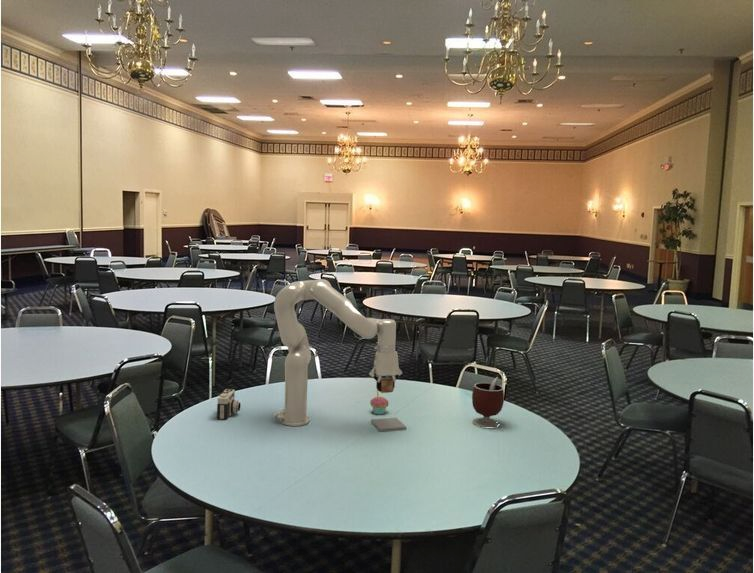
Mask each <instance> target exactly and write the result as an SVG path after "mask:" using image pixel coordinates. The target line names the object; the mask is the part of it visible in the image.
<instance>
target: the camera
mask: <svg viewBox="0 0 754 573" xmlns="http://www.w3.org/2000/svg"><path fill="white" fill-rule="evenodd" d="M235 392H236V390H235V389H232V388H226V389H225V390H223V392H222V393H220V394H219V396H218V397H217V404H216V409H217V410H216V413H217V414H216V420H218V421H228V420H229V418H230V417H231V415H233V414H235V413H236V414H237V413H238V412H240V411H241V407H242V406H241V402H239V400H236V399H235V396H236V395H235Z"/></svg>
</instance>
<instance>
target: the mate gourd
mask: <svg viewBox="0 0 754 573" xmlns="http://www.w3.org/2000/svg"><path fill="white" fill-rule="evenodd" d="M498 379H499V376H496V377H495V378H494V379H493V380H492V381H491V383H490V382H476V383H474V385H473V389H472V395H471V396H472V397H471V402H472V408H473V410H474V411H475V412H476V413H477V414H479V415H480V416H482V417H476V418H473V419H472V422H471V423H472V424H473V425H474V424H475V425H477V426H480V427H479V428H481V427H497V425H498V424H499V423H500V421H498V420H495V419H493V418H490V417H494V416H498V415H499V413H500V412H501V411H502V410H503V406H504V402H505V401H504V400H505V393H504V392H505V391H504V386H502V385H500V384H497V381H498ZM497 421H498V423H496V422H497ZM475 425H474V426H475ZM477 426H476V427H477Z"/></svg>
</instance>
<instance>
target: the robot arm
mask: <svg viewBox="0 0 754 573" xmlns="http://www.w3.org/2000/svg"><path fill="white" fill-rule="evenodd" d="M305 300H306V301H308V300H314V301H317V302H318V303H319V304H320V305H322V306H323V307H325V308H326V310H328V311H330V312H331V313H332V314H334V316H336V317H337V318H338V319H339V320H340V321H341V322H343V323H344V325H346V326H347V328H349V329H351V331H353V332H354V333H356V334H357V335H359V336H360V337H362V338H363V339H366V340H370V339H371V340H372V339H373V338H375V337H376V336H377V345H376V346H374V350H376V352H375V354H374V362H373V368H372V369H371V371H369V373H368V374H369V376H370V377H371V378H373V379H374V380H375V381H376V388H375V389H376V391H377V390H378V393H379V392H380V393H381V382H380V380H381V378H383V377H386V376H387V377H389V378H390V379H392V380H393V391H394V389H395V387H396V386H395V385H396V381H397V379H398V378H399V377H400V376H401V375H403V371H402V369H401V368H400V367H399V364H400V363H399V356H398V351H396V342H397V341H396V338H397V336H396V334H397V322H396V321H395V319H391V318H382V319H381V318H379V319H378V318H375V317H374V318H373V317H365V316H364V315H363V314H361V312H360V311H358V310H357V309H356V308H355V307H354V304H352V301H351V300H350V299H348V298H347V297H346V296H344V295H343V294H342V293H341V292H339V291H337V289H335V288H334V287H332V284H331V283H330V282H329V280H327V279H324V278H322V279H321V278H319V279H311V280H310V279H308V280H299V281H293V282H291V283H288V284H287V285H285V286H284V287H283V288H282V289H281V290H279V292H278V293H277V295H276V296H275V299H274V303H273V308H274V310H273V311H274V314H275V317H276V323H277V327H278V331H279V335H280V340H281V343H282V344H283V346H285V347H287V350H288V354H286V357H285V360H284V377H285V378H284V406H283V407H284V408H283V410H282V411H280V412H274V413H272V414H273V415H272V417H273V418H274V419H279V421H280V423H281V424H283V425H285V426H291V427H299V426H305V425H308V424H310V422H311V418H310V416H308V415H307V409H308V407H307V405H308V404H307V403H308V377H309V376H308V367H309V363H310V362H311V359H312V353H311V347H310V343H309V338H308V335H307V331H306V329H305V327H304V325H303V324H301V323H300V322H299V320H298V317H297V313H296V309H295V305H296V304H297V303H299V302H301V301H305Z"/></svg>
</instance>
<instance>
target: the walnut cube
mask: <svg viewBox="0 0 754 573" xmlns="http://www.w3.org/2000/svg"><path fill="white" fill-rule="evenodd" d="M380 382H381V392H380V393H381V394H384V393H386V394H387V393H388V394H389V393H393V392H394V390H393V380H392V379H391V377H381V380H380Z"/></svg>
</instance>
